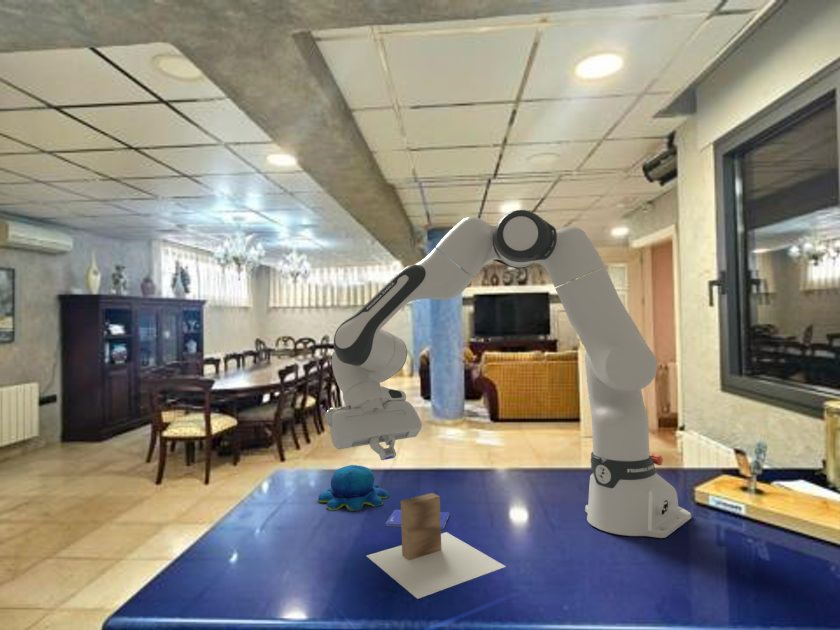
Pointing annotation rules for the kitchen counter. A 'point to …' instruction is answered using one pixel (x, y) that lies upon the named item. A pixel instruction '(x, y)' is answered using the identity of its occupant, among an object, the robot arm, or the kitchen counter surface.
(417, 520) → the teal-faced wooden block
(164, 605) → the kitchen counter surface
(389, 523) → the hard drive
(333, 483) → the plush toy
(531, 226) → the robot arm
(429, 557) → the mat
